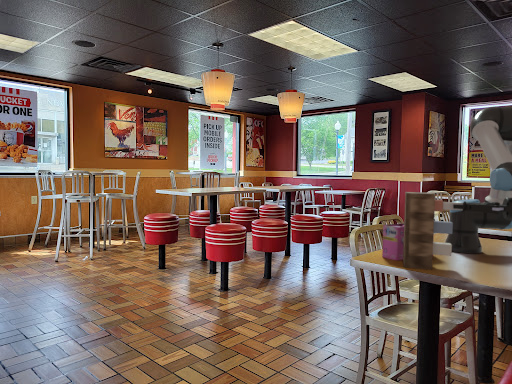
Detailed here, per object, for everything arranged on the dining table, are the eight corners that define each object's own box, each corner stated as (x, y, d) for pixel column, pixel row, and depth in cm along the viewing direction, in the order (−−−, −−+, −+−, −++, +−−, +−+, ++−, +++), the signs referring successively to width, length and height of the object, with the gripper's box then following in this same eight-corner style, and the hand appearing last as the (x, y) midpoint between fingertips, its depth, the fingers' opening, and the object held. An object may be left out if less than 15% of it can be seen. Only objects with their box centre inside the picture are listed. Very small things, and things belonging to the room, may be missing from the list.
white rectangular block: (449, 253, 142) (450, 243, 142) (451, 255, 138) (451, 244, 138) (423, 251, 145) (423, 241, 145) (424, 253, 141) (424, 243, 141)
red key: (441, 210, 142) (441, 199, 142) (442, 211, 138) (442, 200, 138) (414, 209, 145) (415, 198, 145) (415, 210, 141) (416, 199, 141)
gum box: (419, 252, 170) (421, 221, 169) (435, 255, 163) (437, 224, 162) (381, 257, 158) (382, 224, 157) (397, 261, 151) (398, 227, 150)
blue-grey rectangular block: (450, 232, 141) (451, 221, 141) (452, 234, 138) (452, 222, 138) (424, 230, 144) (424, 220, 144) (425, 232, 141) (425, 221, 140)
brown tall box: (429, 263, 147) (432, 192, 146) (431, 269, 138) (435, 193, 136) (402, 261, 150) (405, 191, 149) (403, 267, 141) (406, 193, 139)
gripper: (523, 221, 126) (444, 217, 134) (511, 217, 139) (440, 214, 146) (524, 199, 126) (445, 196, 134) (512, 196, 138) (440, 194, 146)
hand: (442, 205), depth 140 cm, fingers closed
